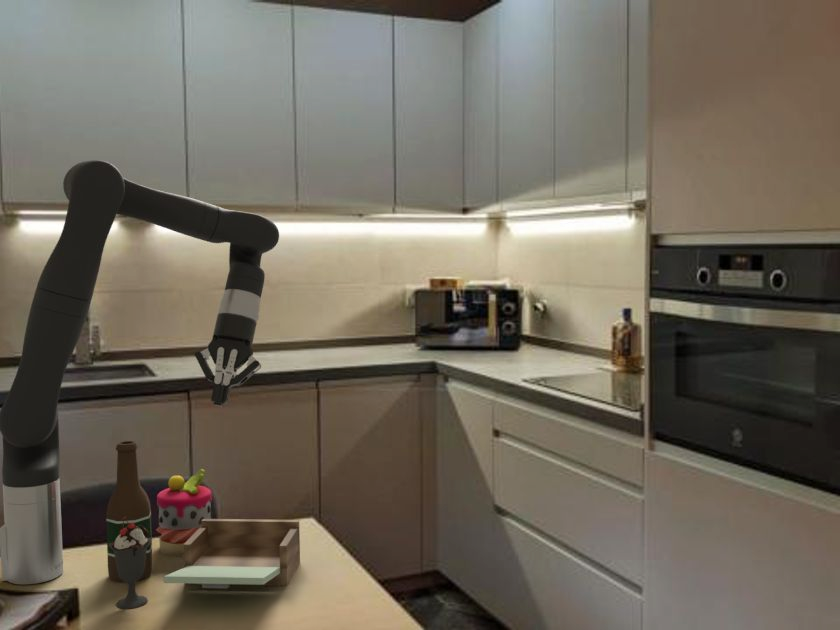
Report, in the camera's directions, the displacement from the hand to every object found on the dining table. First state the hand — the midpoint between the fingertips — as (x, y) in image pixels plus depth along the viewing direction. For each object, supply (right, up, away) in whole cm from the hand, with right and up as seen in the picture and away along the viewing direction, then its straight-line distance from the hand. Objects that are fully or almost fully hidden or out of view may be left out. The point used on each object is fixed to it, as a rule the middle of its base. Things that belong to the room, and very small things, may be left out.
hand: (218, 405), depth 163 cm
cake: (-8, -29, +7) cm, 31 cm away
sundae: (-10, -31, -20) cm, 38 cm away
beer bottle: (-14, -30, -7) cm, 34 cm away
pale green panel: (+6, -27, -13) cm, 30 cm away
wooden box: (+6, -29, -7) cm, 31 cm away
